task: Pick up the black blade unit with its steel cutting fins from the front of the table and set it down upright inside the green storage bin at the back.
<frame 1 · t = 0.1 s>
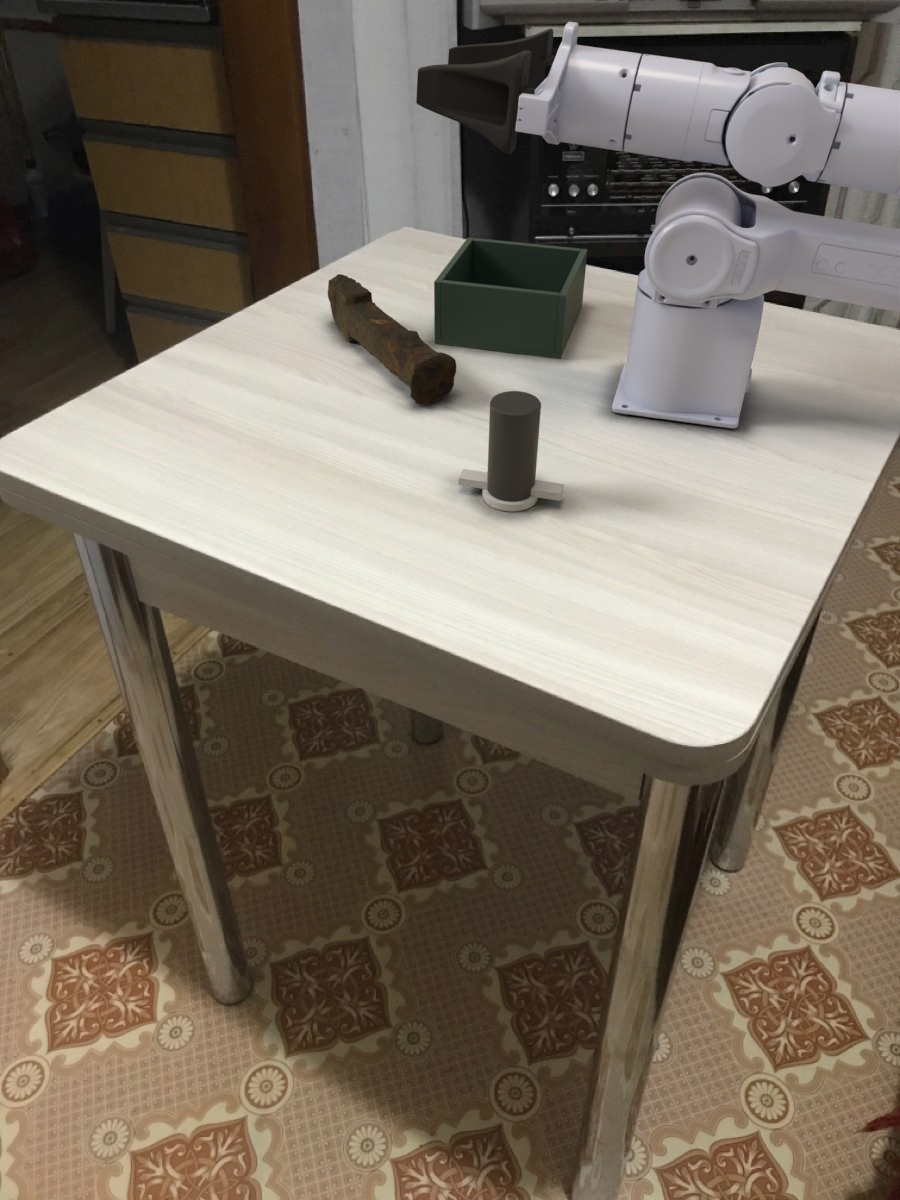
hand: (434, 74, 62), 22 cm above the table, tool horizontal, fingers open, 7 cm apart
blade unit: (510, 495, 62), on the table
hand tool: (375, 361, 77), on the table
green storage bin: (510, 325, 83), on the table
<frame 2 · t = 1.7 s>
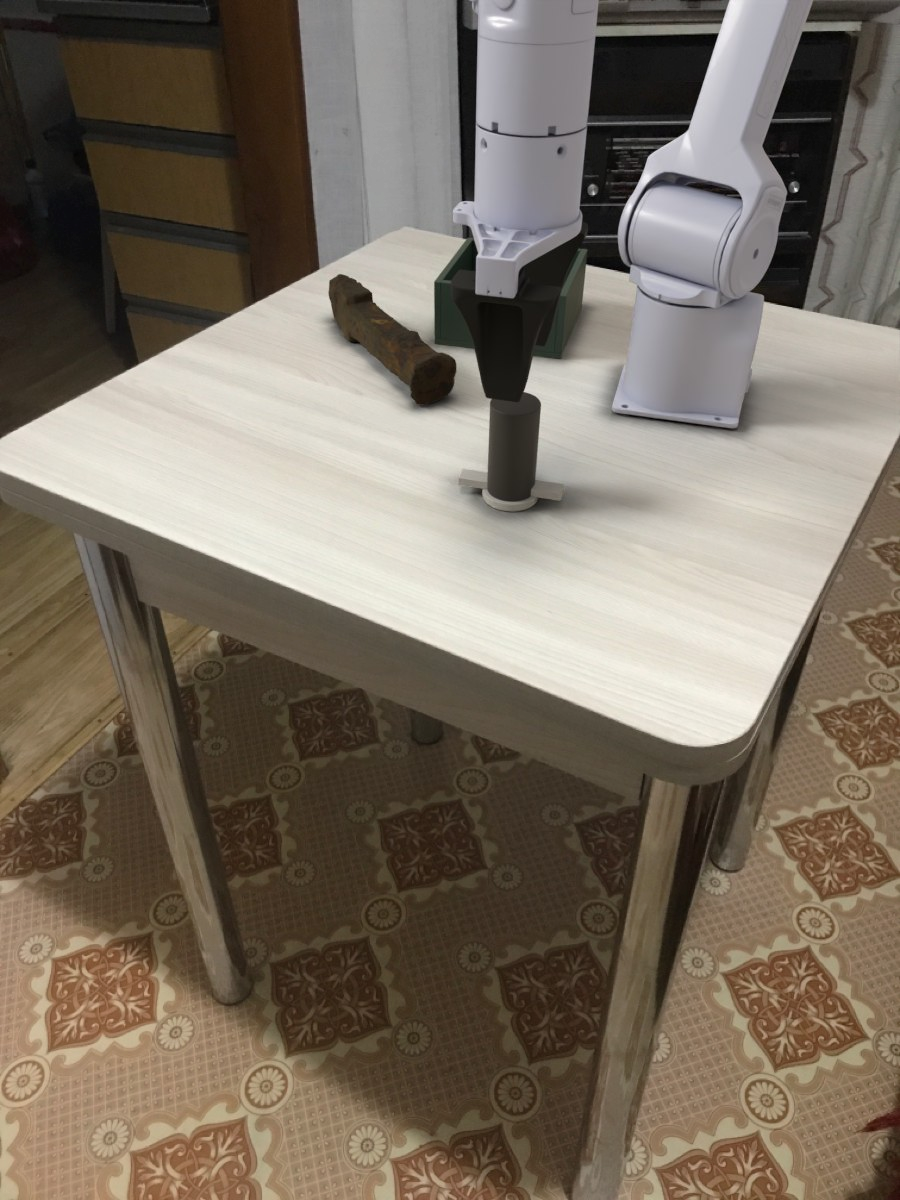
hand: (517, 368, 55), 9 cm above the table, tool pointing down, fingers open, 7 cm apart
nothing on the table moved.
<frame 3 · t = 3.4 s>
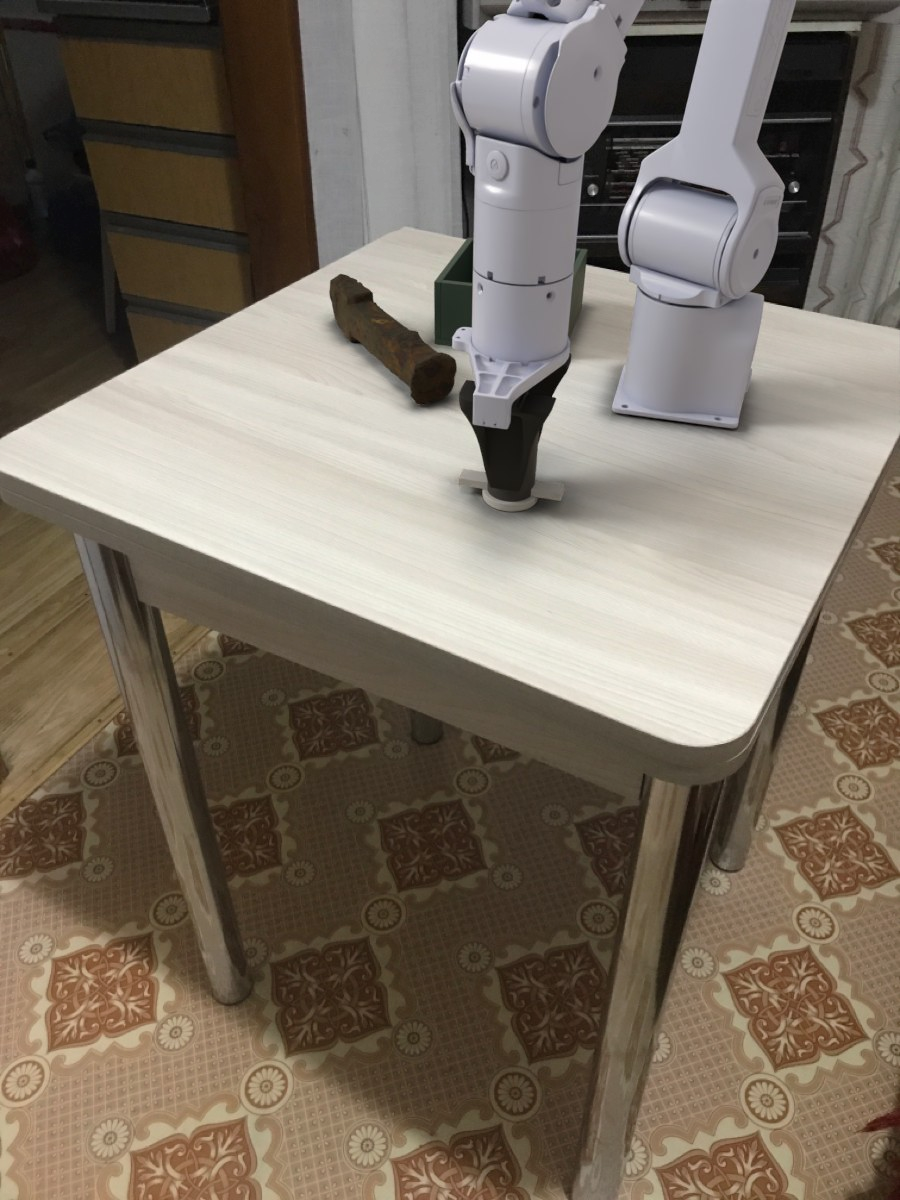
hand: (511, 471, 60), 2 cm above the table, tool pointing down, fingers closed on blade unit, 3 cm apart
blade unit: (510, 495, 62), on the table, touching gripper
everything else where it was.
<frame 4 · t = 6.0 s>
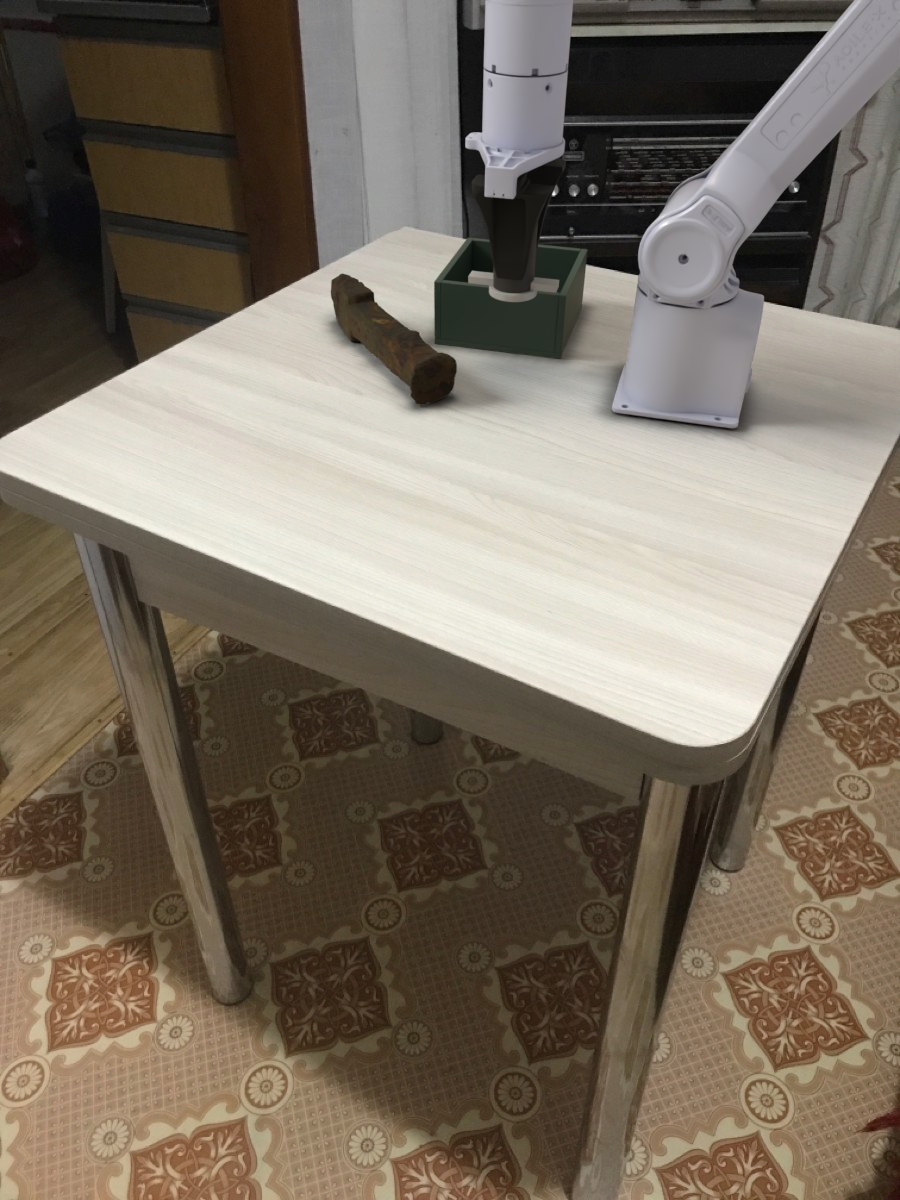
hand: (515, 268, 70), 8 cm above the table, tool pointing down, fingers closed on blade unit, 3 cm apart
blade unit: (512, 292, 72), point 7 cm above the table, touching gripper
everything else where it was.
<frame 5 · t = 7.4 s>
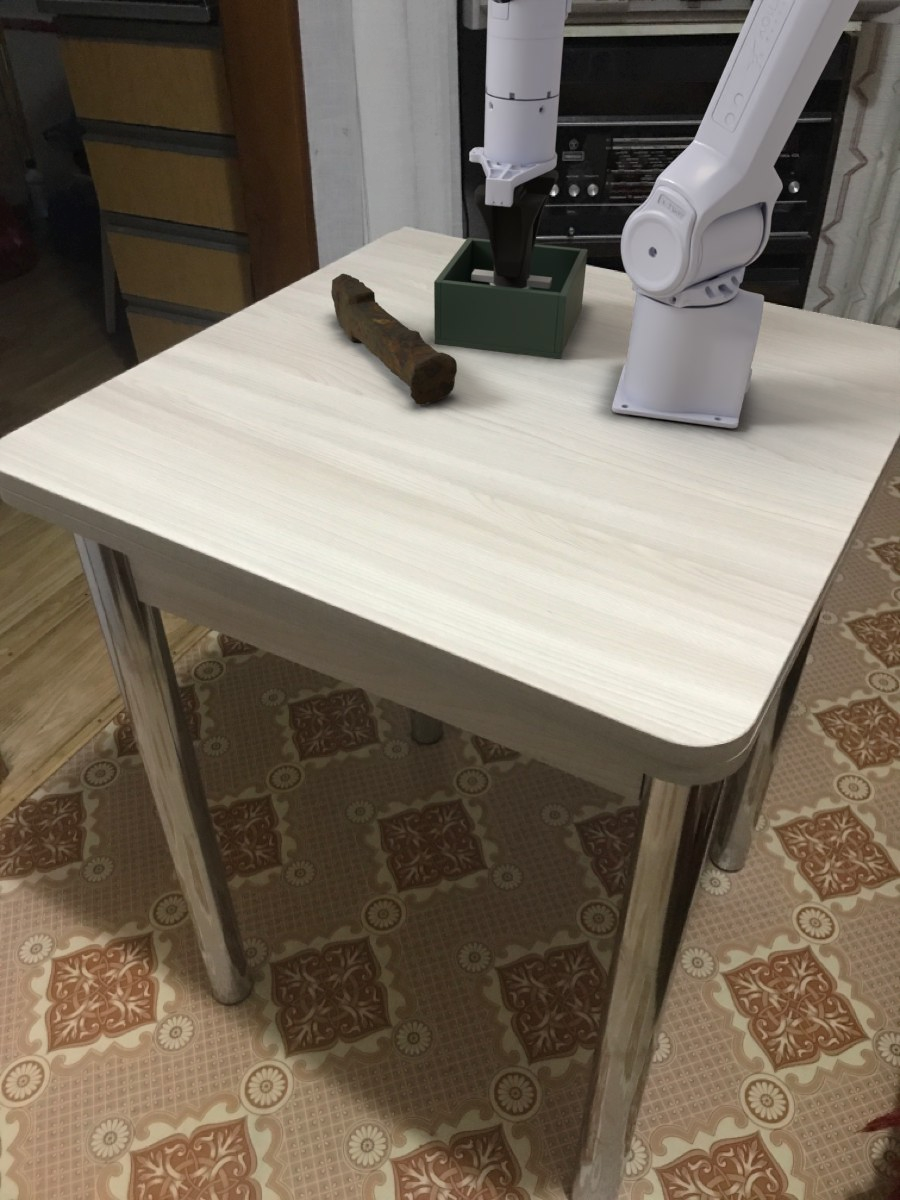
hand: (513, 267, 79), 5 cm above the table, tool pointing down, fingers closed on blade unit, 3 cm apart
blade unit: (511, 289, 80), point 3 cm above the table, touching gripper
everything else where it was.
when the fingers open (2 cm above the table, at t = 8.6 s): blade unit stays where it is, resting on green storage bin.
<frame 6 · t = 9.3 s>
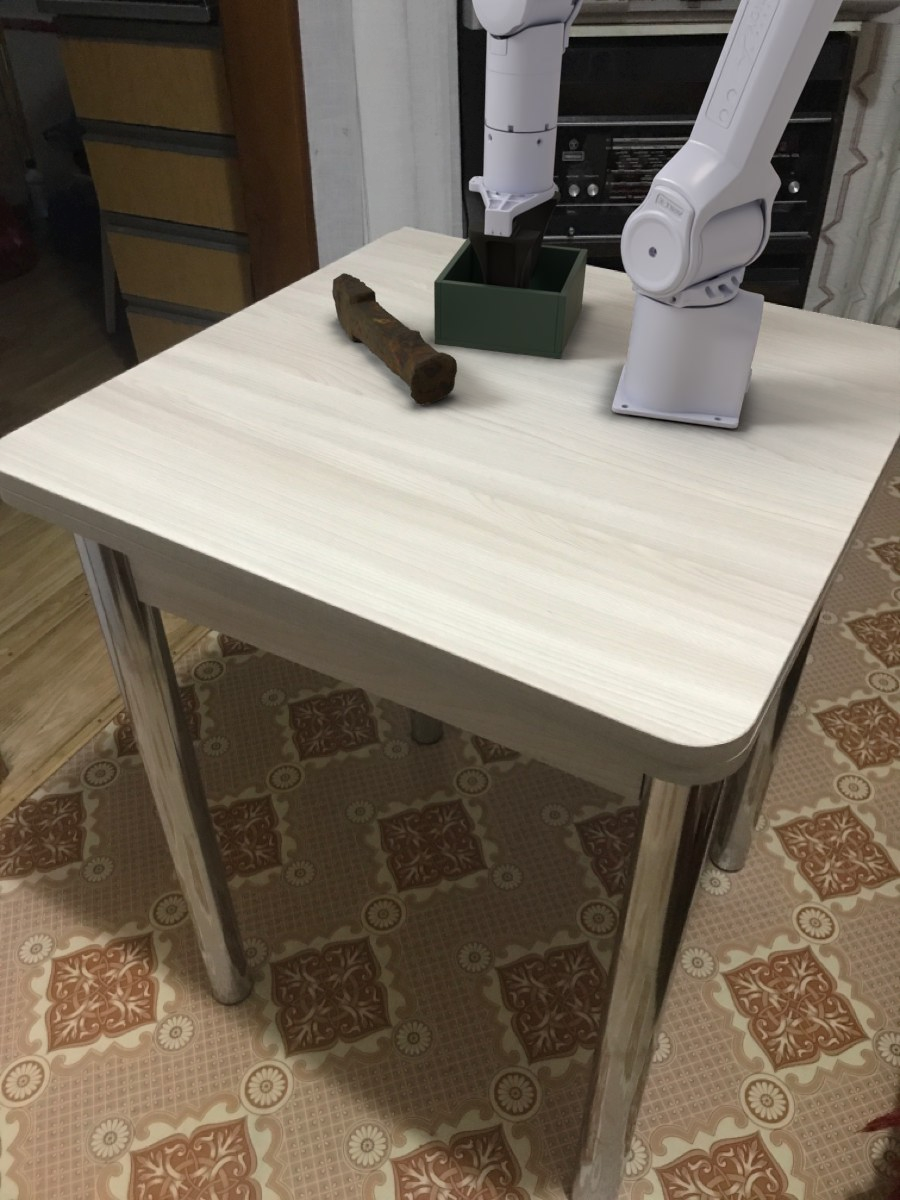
hand: (512, 293, 81), 3 cm above the table, tool pointing down, fingers open, 7 cm apart
blade unit: (509, 319, 82), resting on green storage bin
everything else where it was.
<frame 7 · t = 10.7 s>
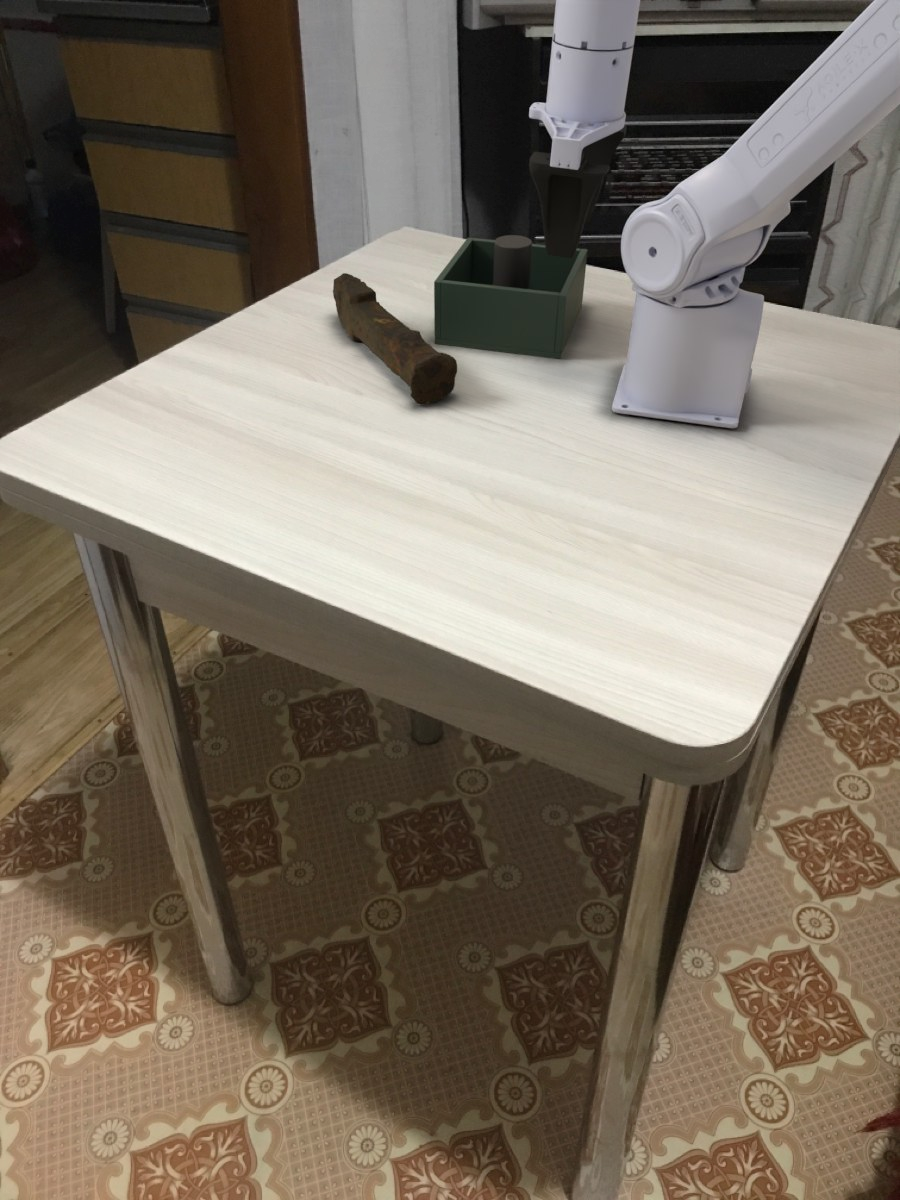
hand: (568, 237, 73), 9 cm above the table, tool pointing down, fingers open, 7 cm apart
nothing on the table moved.
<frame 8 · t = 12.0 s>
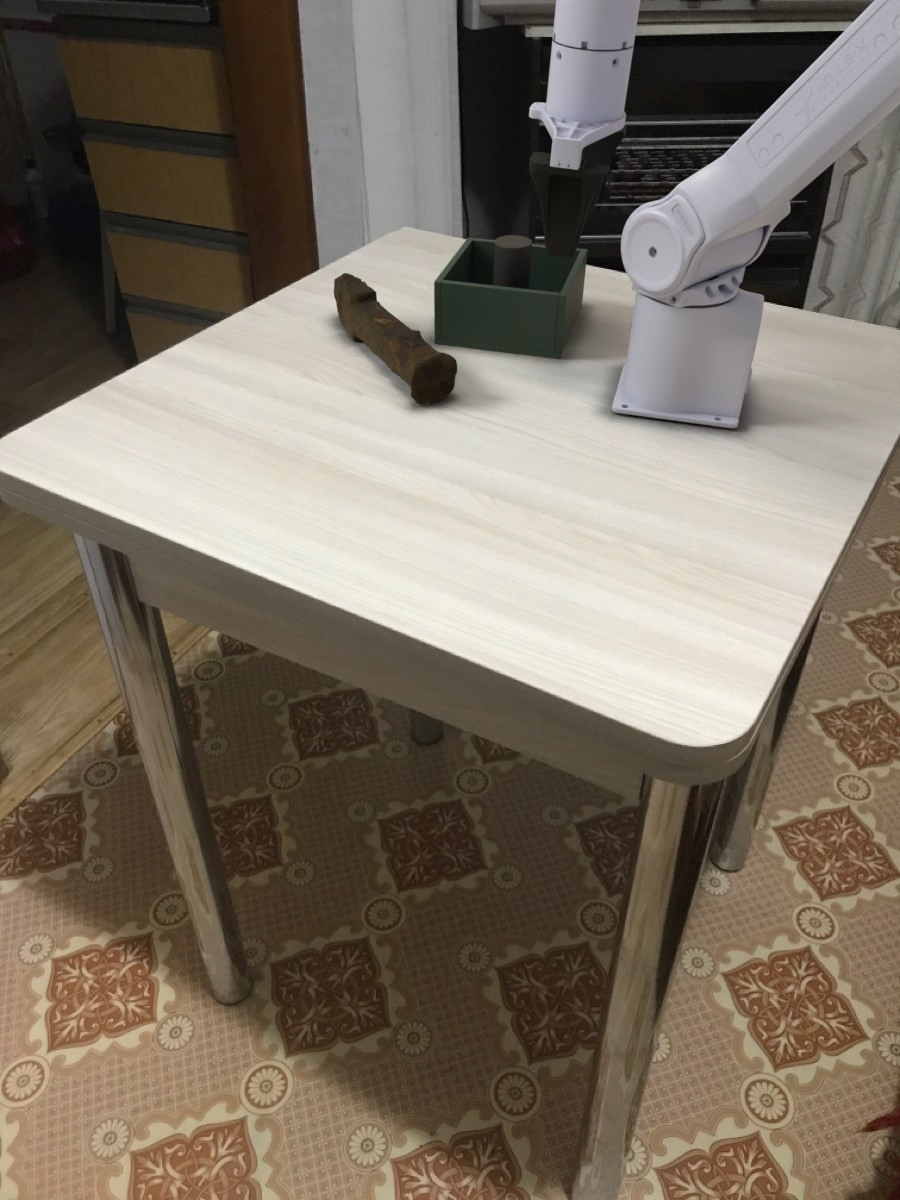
hand: (568, 237, 73), 9 cm above the table, tool pointing down, fingers open, 7 cm apart
nothing on the table moved.
at the end: blade unit inside the target area in the green storage bin (0.1 cm from its centre), point 0.5 cm above the green storage bin's base; blade unit tilted 0°; the gripper is holding nothing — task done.
